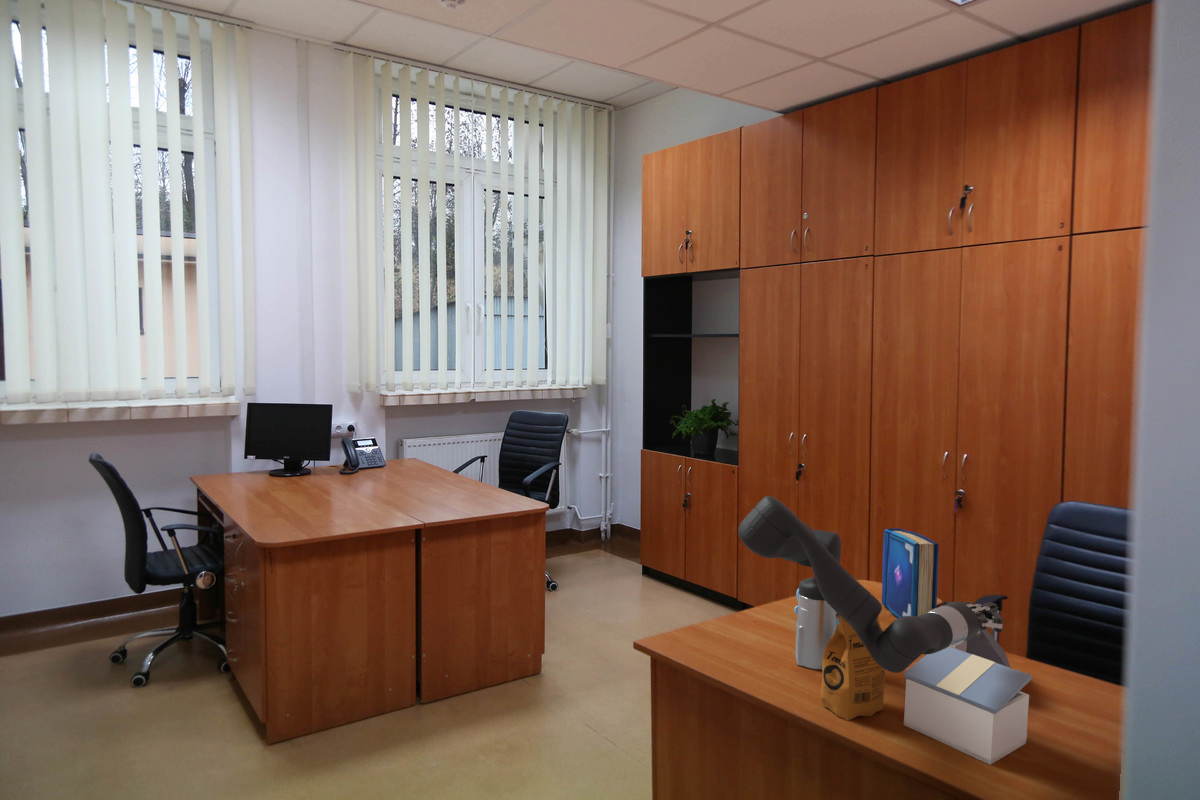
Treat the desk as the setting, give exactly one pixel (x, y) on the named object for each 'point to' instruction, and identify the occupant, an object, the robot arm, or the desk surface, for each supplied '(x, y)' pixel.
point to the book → (909, 573)
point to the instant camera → (984, 648)
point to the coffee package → (850, 675)
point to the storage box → (967, 722)
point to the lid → (969, 678)
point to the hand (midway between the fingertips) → (992, 607)
